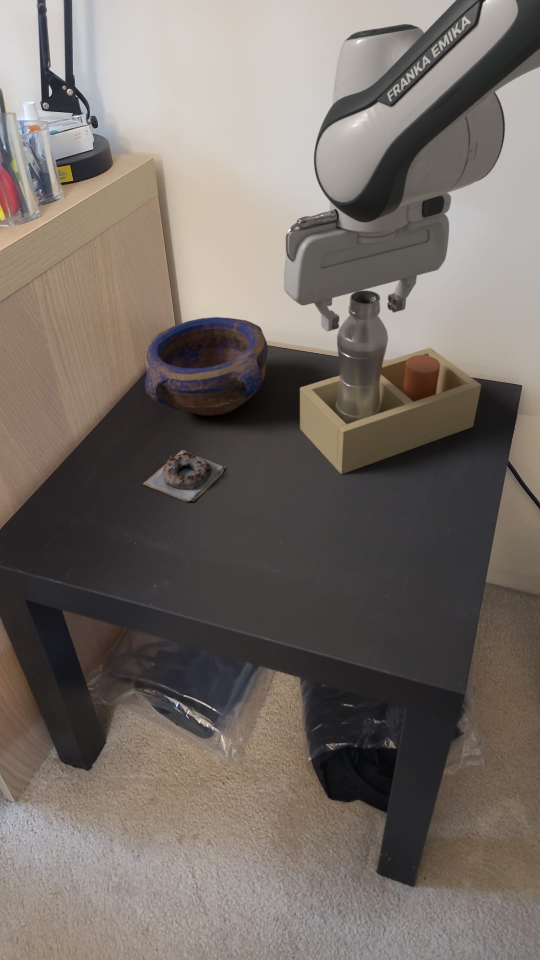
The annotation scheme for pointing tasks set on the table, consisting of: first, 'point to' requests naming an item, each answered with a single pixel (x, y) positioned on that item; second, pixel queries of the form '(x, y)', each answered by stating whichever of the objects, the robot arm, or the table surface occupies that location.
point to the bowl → (206, 365)
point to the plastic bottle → (361, 358)
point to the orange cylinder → (421, 377)
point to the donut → (185, 476)
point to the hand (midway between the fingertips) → (363, 318)
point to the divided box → (388, 415)
